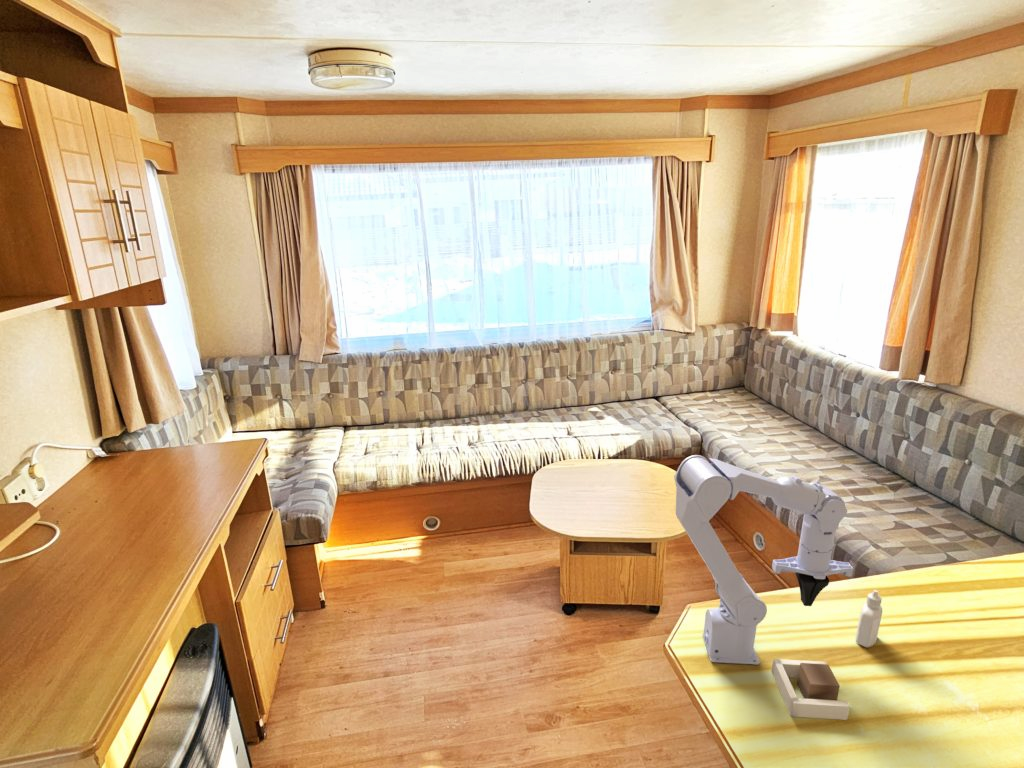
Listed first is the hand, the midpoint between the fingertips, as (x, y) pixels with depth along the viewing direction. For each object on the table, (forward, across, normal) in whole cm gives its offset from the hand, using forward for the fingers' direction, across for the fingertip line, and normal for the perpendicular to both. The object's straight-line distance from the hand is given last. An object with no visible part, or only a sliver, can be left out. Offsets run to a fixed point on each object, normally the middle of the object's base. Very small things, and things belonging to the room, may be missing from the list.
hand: (806, 602), depth 119 cm
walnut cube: (+10, -2, -14) cm, 17 cm away
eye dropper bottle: (+10, +14, +2) cm, 17 cm away
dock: (+10, -3, -14) cm, 17 cm away
